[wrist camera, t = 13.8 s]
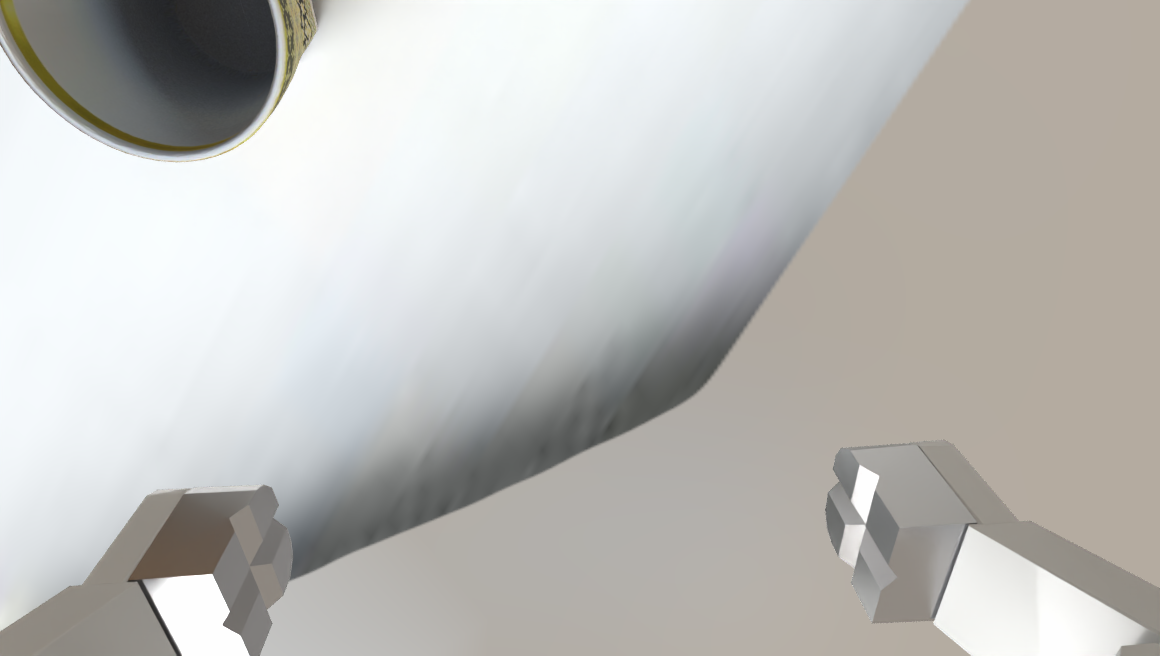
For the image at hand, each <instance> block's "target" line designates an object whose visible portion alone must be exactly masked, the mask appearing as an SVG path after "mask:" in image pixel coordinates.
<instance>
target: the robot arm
mask: <svg viewBox="0 0 1160 656" xmlns="http://www.w3.org/2000/svg"><path fill="white" fill-rule="evenodd" d="M833 470H834V472H835V474H836V475H837V477H838V479H839V482H838V483H837V484H836V485H835V486H834V487H833V488H832V489H831V490H830V491H829V492H828V497H827V503H826V509H825V511H826V521H827V529H828V533H829V536H830V539H831V542H832V545H833V547H834V549H835V551H836V553H837V555H838V557H839V558H841V559H842V560H844V561H845V562H846V563H848V564H849V565H851V566H852V567H853V568H855V569H854V573H853V577H852V582H851V583H852V585H853V587H854V589H855V591H856V593H857V595H858V597H859V599H860V601H861V603H862V605H863V607H864V609H865V610H866V613H867V615H868V617H869V618H870V620H871V622H872V623H889V622H890V623H892V622H912V621H934V623H933V624H934V625H935V626H937V627H938V628H939V629H941V630H942V631H943V632H944V633H945V634H946V635H947V636H949V637H950V638H951V639H952V640H953V641H955V642H956V643H957V644H958V645H959V646H961V647H962V648H963V649H964V650H965V651H966V652H968V653H969V654H970V655H971V656H1160V588H1158V587H1156V586H1154V585H1153V584H1151V583H1149V582H1147V581H1145V580H1143V579H1141V578H1139V577H1137V576H1135V575H1133V574H1131V573H1130V572H1128V571H1126V570H1124V569H1122V568H1120V567H1118V566H1116V565H1114V564H1112V563H1110V562H1109V561H1106V560H1105V559H1103V558H1101V557H1099V556H1097V555H1095V554H1093V553H1091V552H1089V551H1087V550H1086V549H1083V548H1082V547H1080V546H1078V545H1076V544H1074V543H1072V542H1070V541H1068V540H1066V539H1065V538H1062V537H1061V536H1059V535H1057V534H1055V533H1053V532H1051V531H1049V530H1047V529H1045V528H1043V527H1041V526H1039V525H1038V524H1036V523H1034V522H1032V521H1019V520H1018V519H1017V518H1016V517H1015V516H1014V514H1013V513H1012V512H1011V511H1010V510H1009V509H1008V507H1007V506H1006V505H1005V504H1004V503H1003V502H1002V500H1001V499H1000V498H999V497H998V496H997V495H996V493H995V492H994V491H993V490H992V489H991V488H990V486H989V485H988V484H987V483H986V482H985V481H984V480H983V478H982V477H981V476H980V475H979V474H978V472H977V471H976V470H975V469H974V468H973V467H972V466H971V464H970V463H969V462H968V461H967V460H966V459H965V457H964V456H963V455H962V454H961V453H960V451H959V450H958V449H957V448H956V447H955V446H954V445H953V444H951V443H950V442H948V441H946V440H936V441H923V442H911V443H909V444H890V445H878V446H864V447H849V448H841V449H840V451H839V452H838V453H837V455H836V458H835V463H834V467H833ZM278 506H279V504H278V502H277V499H276V497H275V494H274V492H273V489H272V488H271V487H269V486H266V485H244V486H219V487H195V488H192V489H162V490H156V491H154V492H153V493H151V494H149V495H147V496H146V497H145V499H144V500H143V501H142V503H141V504H140V505H139V507H138V508H137V510H136V511H135V512H134V514H133V515H132V516H131V518H130V519H129V521H128V522H127V523H126V525H125V526H124V528H123V529H122V530H121V532H120V533H119V534H118V536H117V537H116V539H115V540H114V541H113V543H112V544H111V546H110V547H109V548H108V550H107V551H106V552H105V554H104V555H103V557H102V558H101V559H100V561H99V562H98V563H97V565H96V566H95V568H94V569H93V570H92V572H91V573H90V575H89V576H88V577H87V579H86V580H85V581H84V583H83V584H82V585H78V586H69V587H68V588H66V589H64V590H63V591H61V592H60V593H58V594H57V595H55V596H54V597H52V598H51V599H49V600H48V601H46V602H45V603H43V604H42V605H40V606H39V607H37V608H35V609H34V610H32V611H31V612H29V613H28V614H26V615H25V616H23V617H22V618H20V619H19V620H17V621H16V622H14V623H13V624H11V625H10V626H8V627H7V628H5V629H3V630H2V631H0V656H260V653H261V651H262V648H263V646H264V643H265V641H266V638H267V636H268V633H269V631H270V628H271V626H272V621H271V619H270V616H269V614H268V611H267V609H268V608H270V607H271V606H272V605H273V604H274V603H275V602H276V601H278V600H279V599H280V598H281V597H282V596H283V595H284V592H285V590H286V587H287V584H288V582H289V579H290V574H291V567H292V559H293V553H292V544H291V539H290V536H289V533H288V530H287V528H286V527H285V526H284V525H282V524H281V523H279V522H278V521H277V520H275V519H274V518H273V517H274V515H275V512H276V510H277V508H278Z"/></svg>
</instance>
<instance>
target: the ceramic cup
mask: <svg viewBox="0 0 1160 656" xmlns="http://www.w3.org/2000/svg"><path fill="white" fill-rule="evenodd" d="M317 29H318V26H317V21H316V17H315V13H314V9H313V5H312V1H311V0H0V45H1V47H2V48H3V50H4V52H5V53H6V55H7V56H8V58H9V60H10V61H11V63H12V65H13V66H14V67H15V69H16V70H17V71H18V73H19V74H20V75H21V77H22V78H23V79H24V81H25V82H26V83H27V84H28V85H29V86H30V88H31V89H32V90H33V91H34V92H35V93H36V94H37V95H38V96H39V97H40V98H41V99H42V100H43V101H44V102H45V103H46V104H47V105H48V106H49V107H50V108H51V109H53V110H54V111H55V112H56V113H57V114H59V115H60V116H61V117H62V118H64V119H65V120H66V121H67V122H69V123H70V124H72V125H73V126H74V127H76V128H77V129H79V130H80V131H82V132H83V133H85V134H87V135H88V136H90V137H92V138H93V139H95V140H97V141H99V142H101V143H104V144H106V145H108V146H110V147H112V148H114V149H117V150H119V151H122V152H125V153H128V154H131V155H135V156H138V157H141V158H146V159H152V160H157V161H169V162H189V161H197V160H203V159H208V158H212V157H215V156H218V155H221V154H223V153H226V152H228V151H230V150H233V149H234V148H236V147H238V146H239V145H241V144H242V143H244V142H245V141H247V140H248V139H249V138H250V137H251V136H253V135H254V134H255V133H256V132H257V131H258V130H259V129H260V128H261V126H262V125H263V124H264V123H265V121H266V120H267V119H268V118H269V116H270V115H271V114H272V112H273V111H274V109H275V108H276V107H277V105H278V103H279V102H280V100H281V98H282V97H283V95H284V93H285V91H286V89H287V88H288V86H289V84H290V82H291V80H292V78H293V76H294V74H295V71H296V69H297V66H298V63H299V60H300V58H301V56H302V54H303V53H304V51H305V50H306V48H307V46H308V45H309V43H310V42H311V40H312V39H313V37H314V35H315V33H316V32H317Z"/></svg>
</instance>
